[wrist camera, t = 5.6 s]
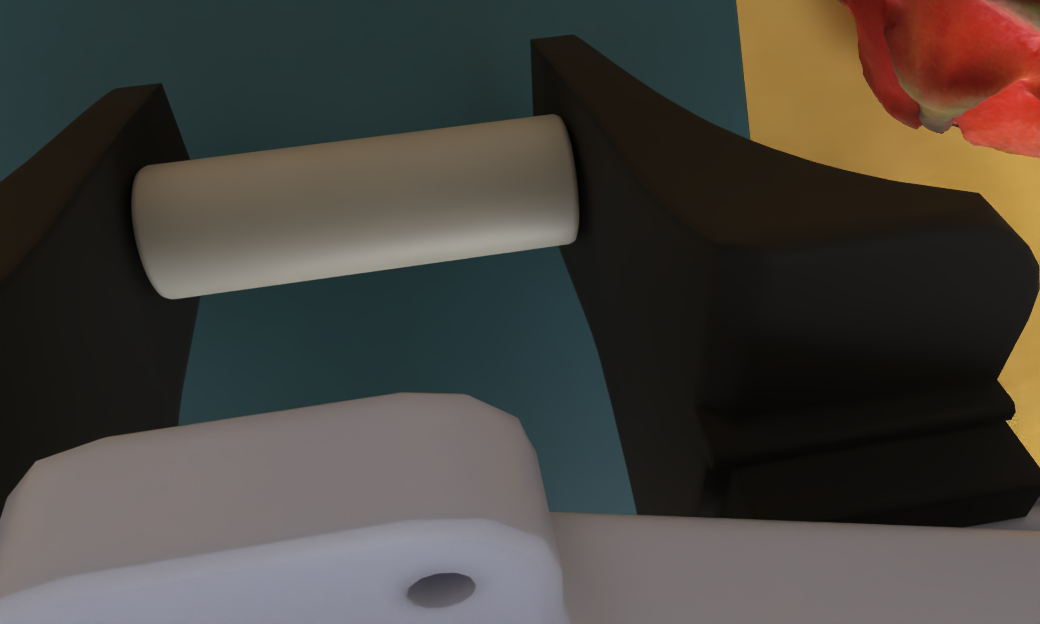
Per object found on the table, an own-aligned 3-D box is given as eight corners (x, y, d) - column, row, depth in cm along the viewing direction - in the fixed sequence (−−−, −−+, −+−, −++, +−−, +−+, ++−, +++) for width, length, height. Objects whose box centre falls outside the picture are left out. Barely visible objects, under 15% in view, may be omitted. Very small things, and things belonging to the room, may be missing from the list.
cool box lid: (772, 493, 16) (926, 614, 11) (75, 610, 15) (-105, 803, 10) (695, -247, 14) (831, -494, 9) (-85, -176, 13) (-389, -410, 8)
